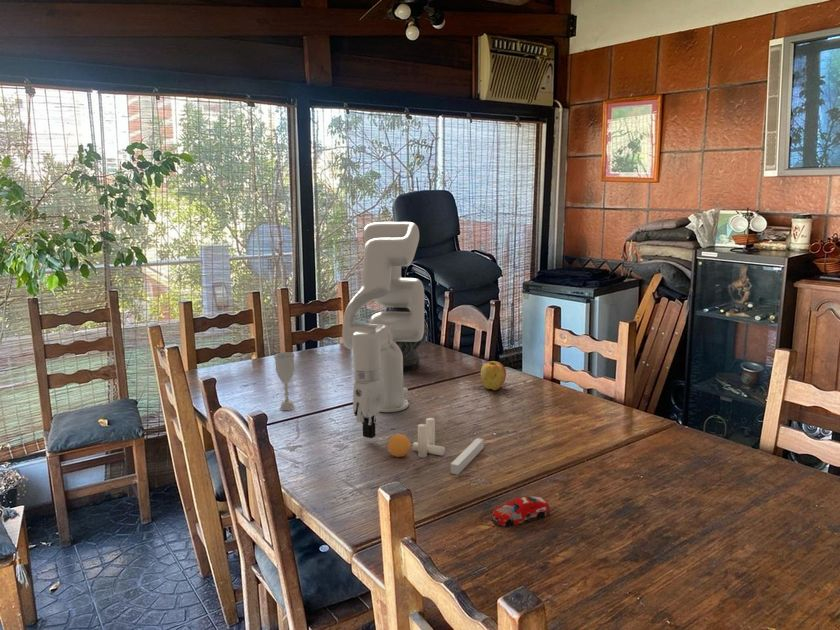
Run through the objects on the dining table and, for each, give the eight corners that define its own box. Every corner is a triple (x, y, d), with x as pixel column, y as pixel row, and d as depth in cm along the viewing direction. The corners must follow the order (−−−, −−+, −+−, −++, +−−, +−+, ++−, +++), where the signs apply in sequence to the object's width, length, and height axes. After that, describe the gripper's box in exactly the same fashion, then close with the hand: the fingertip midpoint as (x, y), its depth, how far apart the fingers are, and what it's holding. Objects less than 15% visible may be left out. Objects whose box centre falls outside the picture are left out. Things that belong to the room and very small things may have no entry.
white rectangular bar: (476, 446, 172) (476, 438, 171) (483, 447, 171) (483, 439, 171) (450, 473, 156) (450, 463, 156) (458, 474, 155) (458, 465, 155)
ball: (417, 445, 168) (401, 431, 170) (411, 442, 162) (395, 427, 165) (402, 463, 167) (387, 448, 170) (396, 460, 162) (380, 445, 164)
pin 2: (428, 446, 173) (428, 417, 171) (436, 447, 172) (436, 418, 170) (424, 449, 170) (424, 420, 169) (432, 451, 169) (432, 421, 168)
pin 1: (420, 453, 168) (420, 423, 166) (428, 454, 167) (428, 424, 165) (416, 456, 166) (416, 426, 164) (424, 458, 165) (424, 427, 163)
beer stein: (378, 361, 259) (376, 302, 254) (424, 359, 261) (423, 300, 256) (379, 373, 243) (378, 310, 238) (429, 370, 245) (428, 308, 240)
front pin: (416, 440, 171) (444, 445, 167) (416, 448, 171) (444, 453, 168) (412, 443, 169) (441, 448, 165) (412, 452, 169) (441, 457, 166)
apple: (511, 389, 220) (511, 362, 218) (491, 394, 215) (492, 366, 213) (494, 383, 228) (494, 356, 226) (475, 387, 223) (475, 360, 221)
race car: (499, 531, 130) (499, 513, 129) (487, 518, 135) (487, 501, 134) (553, 517, 135) (553, 500, 134) (539, 506, 140) (540, 489, 139)
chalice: (292, 412, 201) (289, 358, 197) (273, 411, 202) (269, 357, 199) (301, 404, 208) (298, 352, 204) (282, 403, 209) (279, 351, 206)
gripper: (364, 383, 164) (367, 448, 168) (391, 368, 178) (393, 429, 181) (340, 380, 168) (343, 444, 171) (369, 366, 181) (371, 425, 185)
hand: (369, 436), depth 176 cm, fingers closed
